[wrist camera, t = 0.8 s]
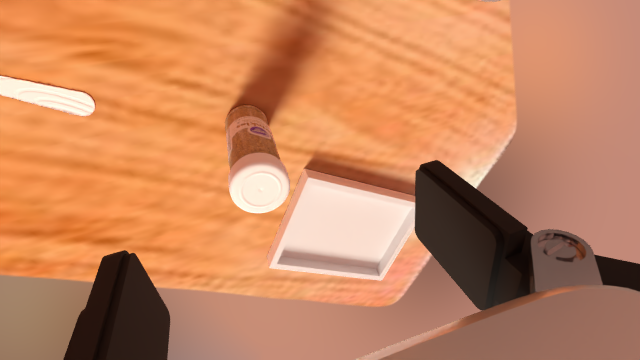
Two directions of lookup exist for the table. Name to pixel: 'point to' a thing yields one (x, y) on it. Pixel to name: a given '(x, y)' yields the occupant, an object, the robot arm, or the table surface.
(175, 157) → the table surface
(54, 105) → the spoon
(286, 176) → the sprinkles bottle
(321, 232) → the tray
